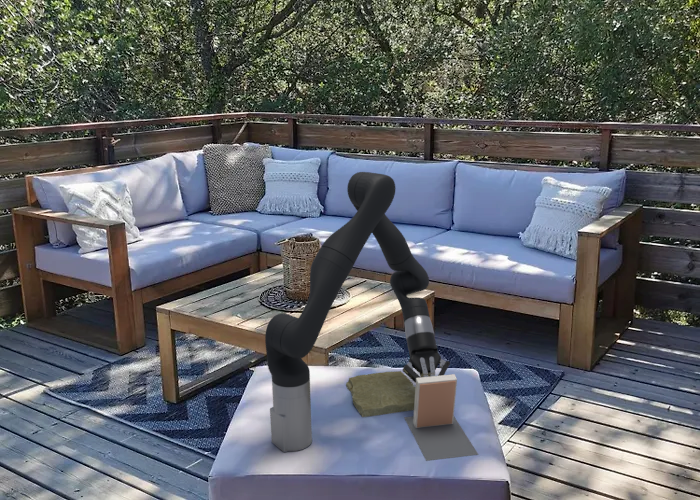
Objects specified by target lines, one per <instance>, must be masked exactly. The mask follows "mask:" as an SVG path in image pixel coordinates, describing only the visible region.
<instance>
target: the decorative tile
mask: <svg viewBox="0 0 700 500" xmlns="http://www.w3.org/2000/svg"><path fill="white" fill-rule="evenodd" d="M345 386H346V388H347V390H348V391H349V392H350V393H351V397H352V399H351V400H352V403H353V406H354V408H355V409H356V410H357V412H358V413H359V415H361V418H369V417H374V416H381V415H382V416H383V415H390V414H391V415H392V414H396V413H403V412H410V411H414V403H415V388H416V385H414V384H413V382H412V380H411V379H410V378H409V377H408V376H407V375H406V374H405V373H403V371H401V370H400V371H383V372H376V373H373V372H372V373H368V374H358V375H354V376H352V377H349V378H348V380H347V381H346V383H345Z"/></svg>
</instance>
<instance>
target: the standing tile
mask: <svg viewBox="0 0 700 500" xmlns="http://www.w3.org/2000/svg"><path fill="white" fill-rule="evenodd" d="M457 386H458V379H457V377H456V374H455V373H453V374H444V375H441V376H438V375H435V376H431V377H421V378H416V383H415V403H414V410H413V416H414V418H413V423H414V426H415V428H420V427H429V426H439V425H448V424H453V418H454V417H455V416H454V415H455V408H456V407H455V406H456V405H455V404H456V396H457Z"/></svg>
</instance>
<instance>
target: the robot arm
mask: <svg viewBox="0 0 700 500" xmlns="http://www.w3.org/2000/svg"><path fill="white" fill-rule="evenodd" d="M346 191H347V196H348V198H349V200H350V202H351V204H352V205H353V207H354V208H355V210H356V213H355V214H354V215H353V216H352V218H351V219H349V221H347V222H346V223H345V224H344V225H342V226H341V227H339V228H338V229H336V230H335V231H334V232H333V233H332V234H330V236H328V237H327V238H326V239H325V240H324V242H323V243H322V245H321V246H320V248H319V249H318V252H317V253H316V255H315V256H314V259H313V261H312V262H311V265H310V269H309V270H310V271H309V295H308V299H307V302H306V304H305V306H304V307H303V310H302V312H301V313H300V315H299V316H298V317H295V316H294V315H290V314H288V313H278V314H275V315H273V317H271V319H270V320H269V321H268V324H267V326H266V329H265V336H264V339H265V340H264V341H265V352H266V354H265V355H266V363H267V368H268V371H269V373H270V374H271V388H272V389H271V390H272V407H270V409H269V415H270V433H271V435H270V437H271V443H272V444H273V445H274V446H276V447H277V448H278V449H280V450H281V452H282V453H286V452H296V451H297V452H298V451H301V450H303V449H306V448H308V447H310V445H311V444H312V441H313V437H312V436H313V435H312V434H313V431H312V430H313V428H312V404H311V375H310V374H311V373H310V367H309V366H308V364H307V363H306V362H305V361H304V360H303V358H305V357H307V356H308V354H309V353H310V352H311V350H312V349H313V347H314V346H315V343H316V342H317V340H318V337H319V335H320V334H321V333H320V332H321V330H322V328H323V326H324V325H325V324H324V323H325V321H326V319H327V316H328V314H329V312H330V309H331V307H332V306H333V305H334V304H333V303H334V302H335V300H336V298H337V297H338V294H339V293H340V290H341V288H342V286H343V285H344V283H345V281H346V280H347V278H348V276H349V275H350V273H351V271H352V269H353V268H354V266H355V263H356V262H357V260H358V259H359V258H358V257H359V256H360V253H361V252H362V250H363V248H364V247H365V246H366V243H367V242H368V240H369V238H370V237H371V235H373V236H374V238H375V240H376V242H377V244H378V245H379V248H380V250H381V253H382V254H383V256H384V259H385V261H386V263H387V266H388V267H389V268H390V269H391V270H392V271H395V272H393V273H392V274H391V276H390V279H389V284H390V287H391V289H392V291H393V293H394V295H395V297H396V299H397V301H398V303H399V305H400V308H401V312H402V317H403V322H404V324H403V325H404V331H405V339H406V343H407V349H408V353H409V358H408V363H407V364H405V365H404V366H403V367H402V373H403V372H404V373H403V374H404V375H405V376H406V377H408V378H409V379H410V380H411V381H413V382H414V383H415V384H416V378H421V377H431V376H436V370H437V368H438V366H439V368H440V371H439V373H438V374H437V376H441V375H446V373H447V370H448V369H449V366H450V364H451V361H448V360H444V359H442V356H441V355H440V353H439V351H438V346H437V342H436V341H437V340H436V336H435V332H434V328H433V327H434V326H433V324H432V321H431V317H430V316H431V315H430V311H429V307H428V303H427V301H426V299H425V298H423V297H409V296H408V295H412V294H415V293H419V292H422V291H425V290H427V288H428V287H429V284H430V279H429V275H428V272H427V271H426V269H425V267H423V266H422V264H421V263H419V261H418V260H417V258H416V257H414V255H413V253H412V251H411V249H410V246H409V244H408V242H407V240H406V238H405V236H404V235H403V233H402V232H401V230H400V229H399V228H398V227H397V226H396V225H395V224H394V223H393V222H392V221H391V220H390V219H389V217H388V216H387V215H386V212H387V211H388V209H389V208H390V207H391V205H392V203H393V201H394V199H395V198H394V197H395V195H396V183H395V180H394V179H393V178H392V177H391V176H389V175H387V174H383V173H376V172H369V171H359V172H356V173H354V174H352V175H351V177H350V179H349V180H348V183H347V190H346Z"/></svg>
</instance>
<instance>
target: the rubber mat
mask: <svg viewBox="0 0 700 500" xmlns="http://www.w3.org/2000/svg"><path fill="white" fill-rule="evenodd" d="M403 418H404V420H405V423H406V424H407V426H408V428H409V430H410V433H411V434H412V436H413V437H414V440H415V442H416V444H417V446H418V448H419V450H420V452H421V453H422V456H423V458H424V459H425V461H426V462H428V461H436V460H445V459H454V458H462V457H469V456H478V455H479V453H478V451H477V449H475V446H474V445H473V443H472V442H471V439H469V437H468V436H467V434H466V432H465V430H464V429H463V428H462V426H461V425H460V424H459V421H458V419H456V417H455V416H454V418H453V424H448V425H439V426H429V427H420V428H415V426H414V423H413V418H414V415H412V416H403Z"/></svg>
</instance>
